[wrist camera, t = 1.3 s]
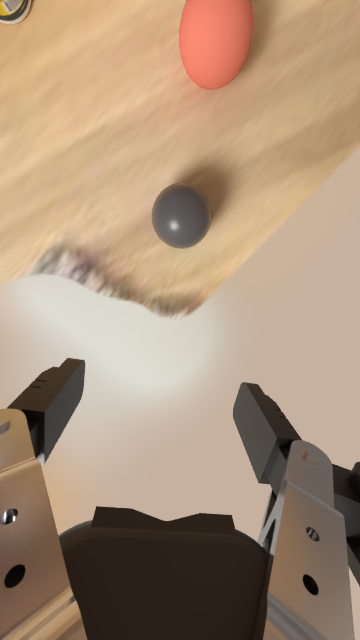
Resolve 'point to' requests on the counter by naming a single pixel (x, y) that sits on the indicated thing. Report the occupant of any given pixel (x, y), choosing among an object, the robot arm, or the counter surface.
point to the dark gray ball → (181, 215)
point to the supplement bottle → (13, 10)
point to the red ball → (215, 40)
